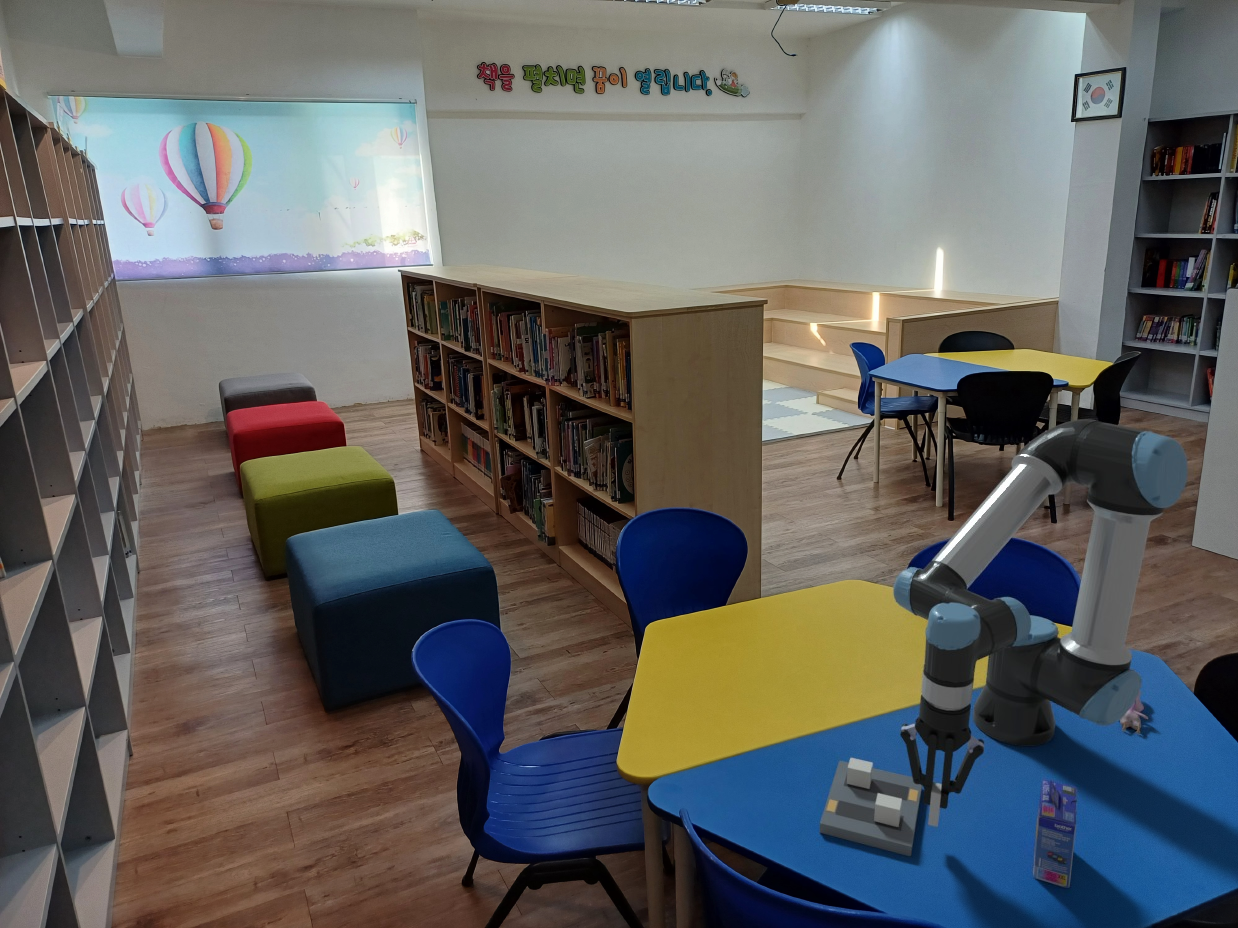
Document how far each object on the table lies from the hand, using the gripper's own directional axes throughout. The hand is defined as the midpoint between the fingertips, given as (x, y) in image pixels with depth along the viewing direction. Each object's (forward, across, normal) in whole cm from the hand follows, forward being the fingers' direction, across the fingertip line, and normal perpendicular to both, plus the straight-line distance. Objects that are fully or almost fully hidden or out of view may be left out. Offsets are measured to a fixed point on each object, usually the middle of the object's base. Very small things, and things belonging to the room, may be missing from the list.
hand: (933, 820), depth 143 cm
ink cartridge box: (+5, -18, -2) cm, 19 cm away
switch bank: (+4, +10, -4) cm, 12 cm away
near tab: (+2, +7, 0) cm, 8 cm away
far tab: (+2, +13, -8) cm, 16 cm away
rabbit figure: (+4, -34, -52) cm, 62 cm away
